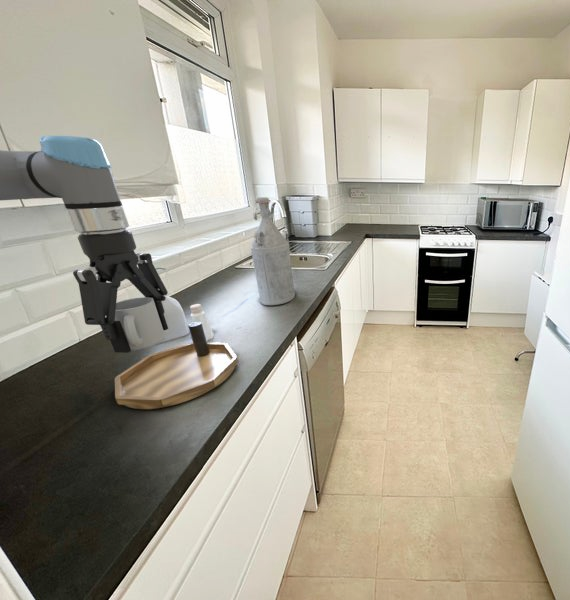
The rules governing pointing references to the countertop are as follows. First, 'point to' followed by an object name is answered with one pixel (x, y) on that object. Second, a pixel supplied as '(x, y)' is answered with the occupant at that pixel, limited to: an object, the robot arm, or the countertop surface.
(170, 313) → the soap bottle
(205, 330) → the salt shaker
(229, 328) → the countertop surface
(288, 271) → the grey jug bottle
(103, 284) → the robot arm
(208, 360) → the tray
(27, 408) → the countertop surface
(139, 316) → the cup
